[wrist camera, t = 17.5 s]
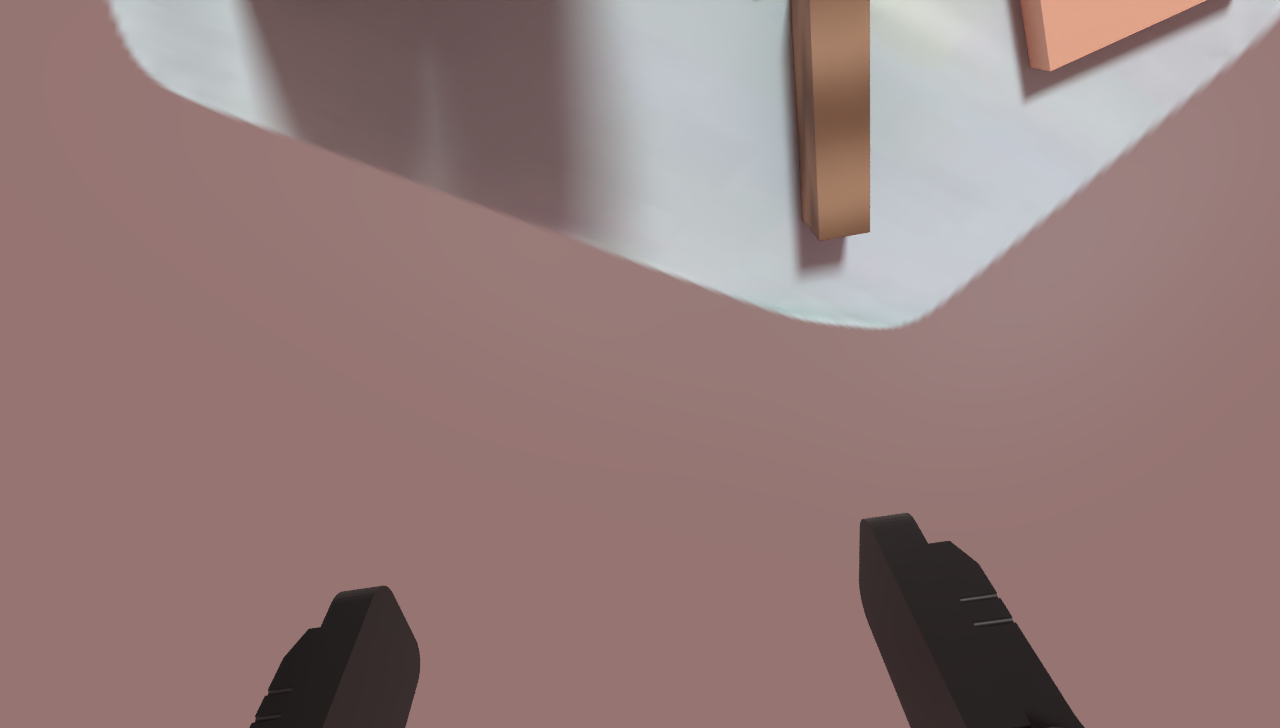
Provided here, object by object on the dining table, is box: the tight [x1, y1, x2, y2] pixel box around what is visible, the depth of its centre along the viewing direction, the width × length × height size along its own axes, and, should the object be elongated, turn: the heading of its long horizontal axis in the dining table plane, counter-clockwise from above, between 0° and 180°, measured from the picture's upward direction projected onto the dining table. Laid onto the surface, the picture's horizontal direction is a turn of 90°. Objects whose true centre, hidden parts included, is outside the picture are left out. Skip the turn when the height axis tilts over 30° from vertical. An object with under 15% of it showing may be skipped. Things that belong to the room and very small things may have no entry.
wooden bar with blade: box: [791, 0, 870, 241], centre depth 31 cm, size 18×6×4 cm, turn 10°
